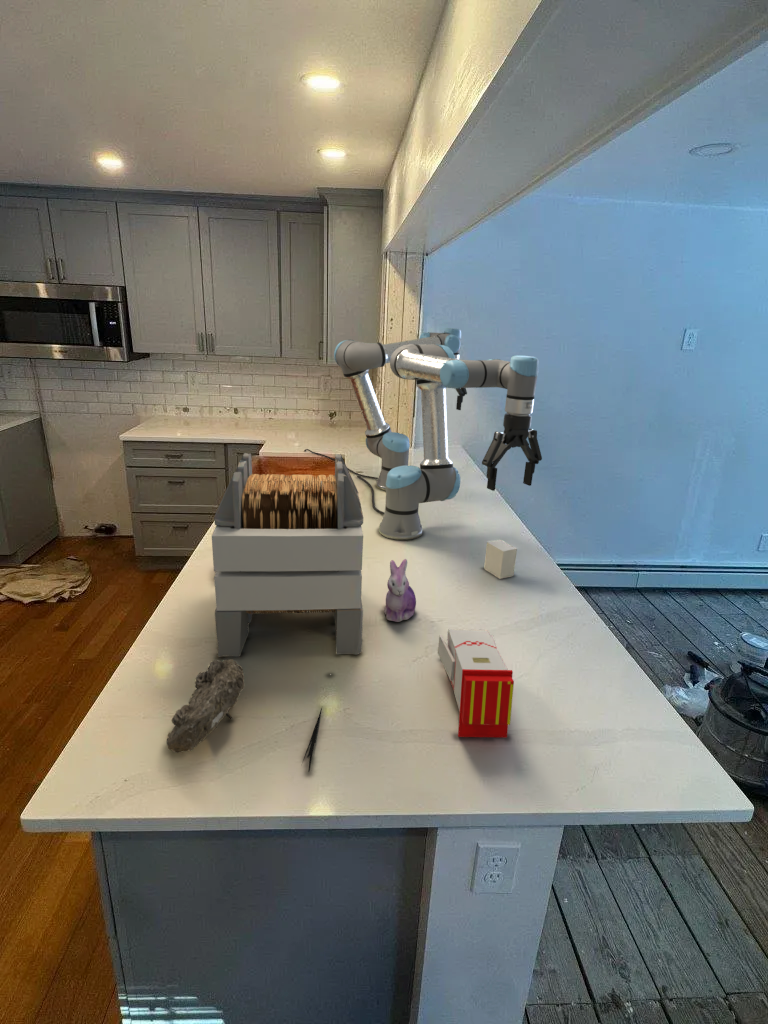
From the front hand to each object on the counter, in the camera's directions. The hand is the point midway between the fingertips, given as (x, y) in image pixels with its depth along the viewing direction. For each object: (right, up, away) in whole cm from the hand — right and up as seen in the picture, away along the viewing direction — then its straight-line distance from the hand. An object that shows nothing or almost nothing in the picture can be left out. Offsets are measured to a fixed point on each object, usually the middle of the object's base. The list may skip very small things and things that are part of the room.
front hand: (509, 486), depth 164 cm
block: (-1, -26, +9) cm, 28 cm away
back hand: (-7, +40, +102) cm, 110 cm away
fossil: (-69, -46, -56) cm, 100 cm away
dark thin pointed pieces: (-49, -47, -56) cm, 88 cm away
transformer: (-59, -34, -21) cm, 72 cm away
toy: (-18, -45, -46) cm, 67 cm away
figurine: (-32, -34, -17) cm, 50 cm away
